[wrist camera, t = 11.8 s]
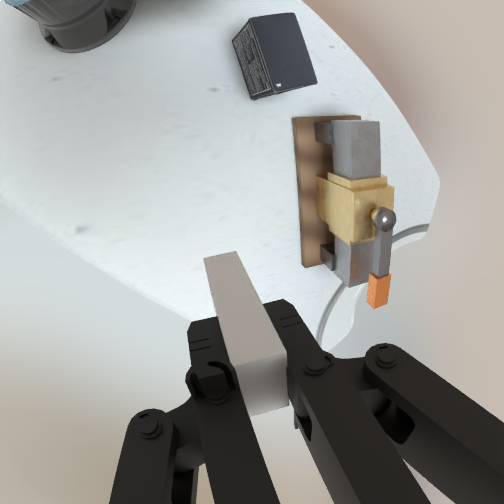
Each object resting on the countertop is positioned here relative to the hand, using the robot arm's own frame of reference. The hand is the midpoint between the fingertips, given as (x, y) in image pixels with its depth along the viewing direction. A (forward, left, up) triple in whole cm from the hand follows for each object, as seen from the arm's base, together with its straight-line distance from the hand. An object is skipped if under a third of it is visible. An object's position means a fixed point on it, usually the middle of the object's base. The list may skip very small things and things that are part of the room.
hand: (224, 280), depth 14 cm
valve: (+7, +23, -31) cm, 39 cm away
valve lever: (+13, +23, -18) cm, 32 cm away
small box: (-15, +13, -33) cm, 38 cm away
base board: (+7, +23, -32) cm, 40 cm away
